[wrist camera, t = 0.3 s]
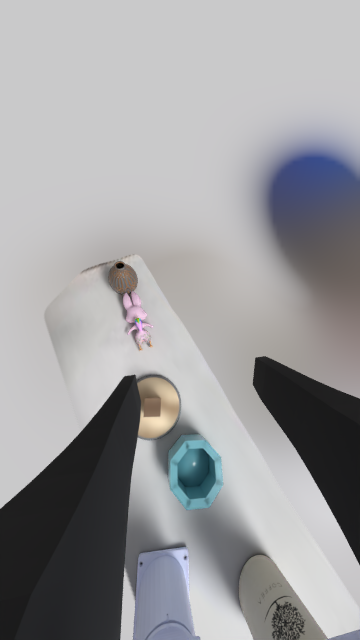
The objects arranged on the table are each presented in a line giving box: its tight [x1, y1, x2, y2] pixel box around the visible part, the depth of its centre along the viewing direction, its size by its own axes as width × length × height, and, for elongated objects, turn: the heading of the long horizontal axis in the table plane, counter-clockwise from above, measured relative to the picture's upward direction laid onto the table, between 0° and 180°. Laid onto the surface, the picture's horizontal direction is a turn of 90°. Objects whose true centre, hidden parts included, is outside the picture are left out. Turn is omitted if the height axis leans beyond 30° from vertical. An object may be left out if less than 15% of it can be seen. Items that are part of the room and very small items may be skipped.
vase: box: [109, 261, 138, 294], centre depth 41 cm, size 7×7×9 cm
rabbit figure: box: [123, 291, 153, 351], centre depth 39 cm, size 6×6×15 cm
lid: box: [137, 377, 179, 438], centre depth 32 cm, size 11×11×5 cm
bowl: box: [168, 434, 223, 510], centre depth 30 cm, size 9×9×4 cm
